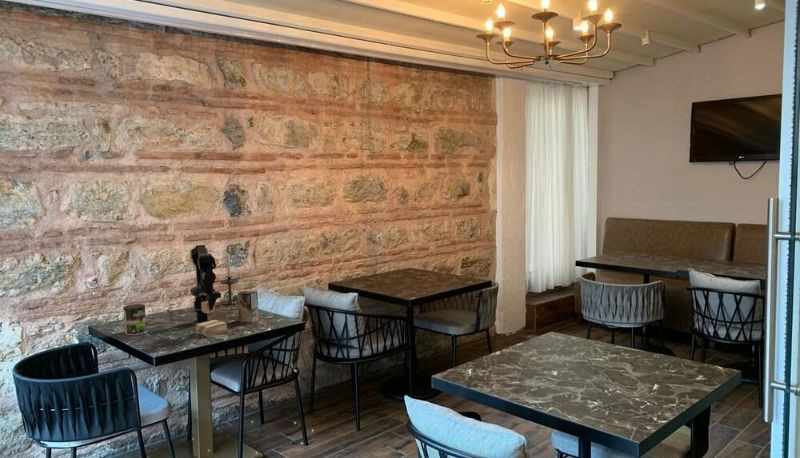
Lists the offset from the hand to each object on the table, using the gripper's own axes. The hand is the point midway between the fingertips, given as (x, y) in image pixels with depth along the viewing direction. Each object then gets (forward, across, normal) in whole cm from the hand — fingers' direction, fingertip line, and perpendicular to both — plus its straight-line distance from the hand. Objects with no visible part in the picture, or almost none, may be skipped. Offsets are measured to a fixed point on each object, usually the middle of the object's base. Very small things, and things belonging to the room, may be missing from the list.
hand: (208, 309), depth 295 cm
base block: (+12, 0, +1) cm, 12 cm away
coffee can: (+12, -27, -28) cm, 41 cm away
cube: (+1, 0, 0) cm, 1 cm away
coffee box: (+12, -7, +26) cm, 29 cm away
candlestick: (+12, -53, +37) cm, 66 cm away
